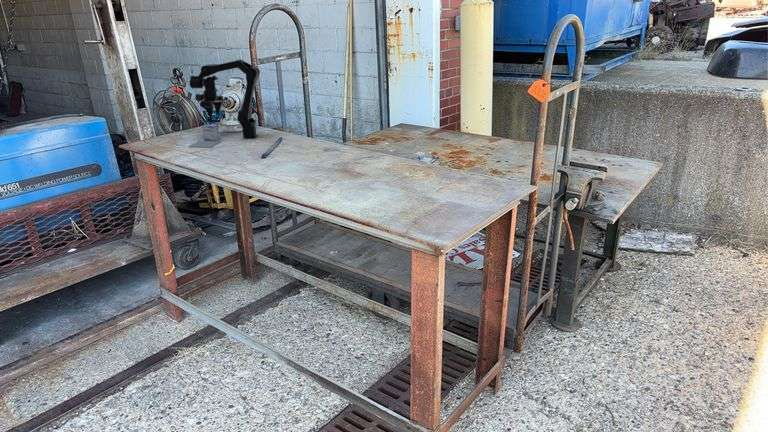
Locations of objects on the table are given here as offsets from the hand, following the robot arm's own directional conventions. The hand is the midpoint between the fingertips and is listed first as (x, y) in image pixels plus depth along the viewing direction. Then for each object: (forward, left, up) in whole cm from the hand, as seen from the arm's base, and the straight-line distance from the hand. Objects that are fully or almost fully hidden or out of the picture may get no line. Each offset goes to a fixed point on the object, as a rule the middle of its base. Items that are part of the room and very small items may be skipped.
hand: (214, 116), depth 308 cm
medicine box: (0, +7, -12) cm, 14 cm away
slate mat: (0, +16, -12) cm, 20 cm away
